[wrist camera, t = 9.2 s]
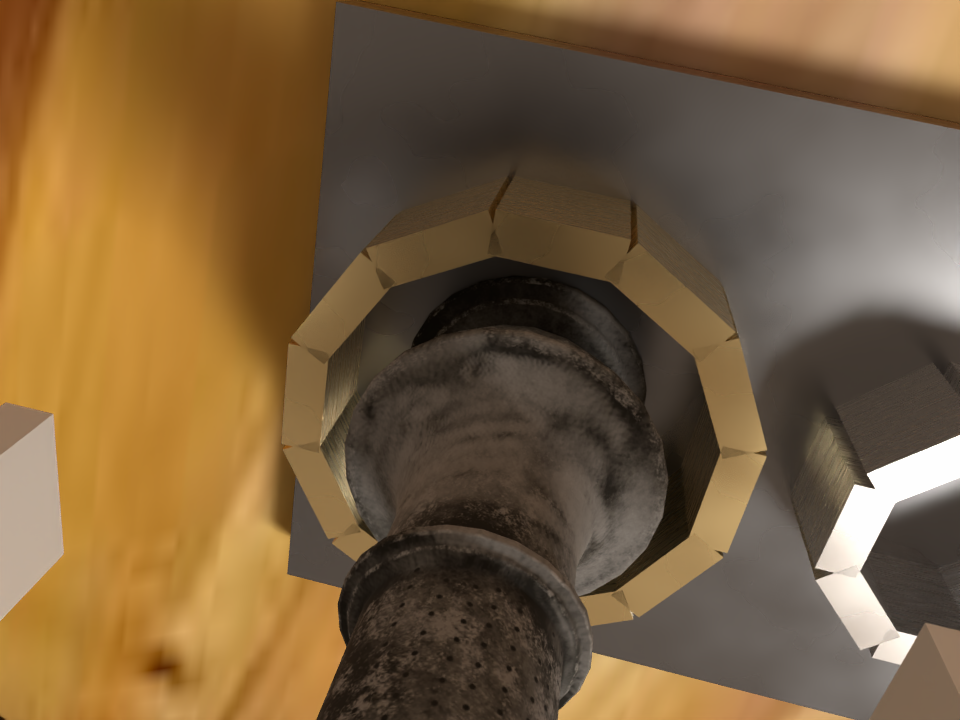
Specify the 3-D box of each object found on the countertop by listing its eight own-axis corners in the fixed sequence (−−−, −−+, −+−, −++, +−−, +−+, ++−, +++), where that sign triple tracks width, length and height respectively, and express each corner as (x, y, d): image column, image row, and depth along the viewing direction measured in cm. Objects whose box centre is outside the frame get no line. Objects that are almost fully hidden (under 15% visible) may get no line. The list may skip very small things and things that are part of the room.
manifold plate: (303, 545, 22) (247, 644, 19) (355, -1, 16) (285, 7, 13) (962, 712, 21) (1024, 849, 18) (1303, 194, 15) (1497, 257, 11)
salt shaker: (561, 206, 16) (430, 692, 5) (712, 431, 17) (847, 1156, 7) (341, 349, 18) (-73, 895, 7) (492, 537, 20) (331, 1213, 9)
